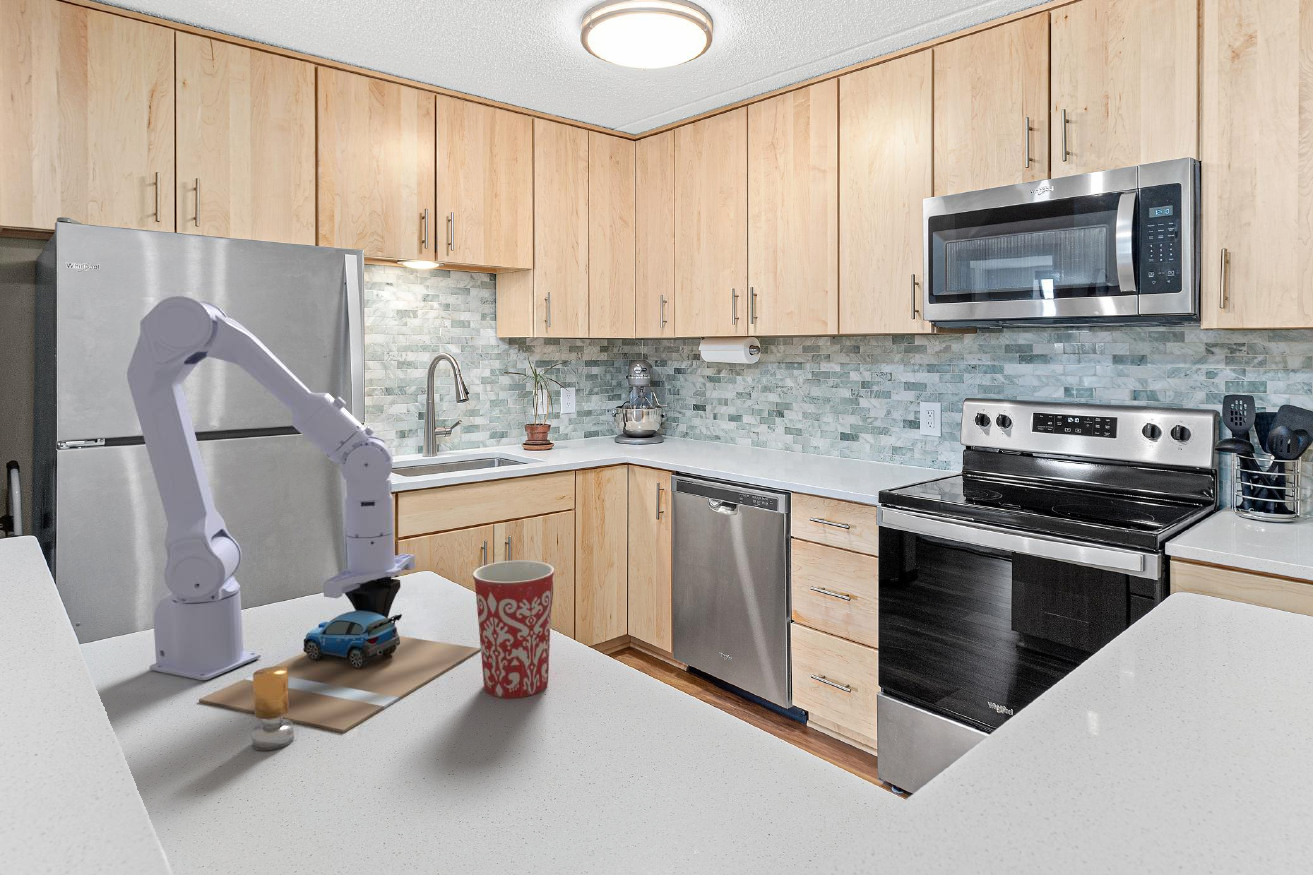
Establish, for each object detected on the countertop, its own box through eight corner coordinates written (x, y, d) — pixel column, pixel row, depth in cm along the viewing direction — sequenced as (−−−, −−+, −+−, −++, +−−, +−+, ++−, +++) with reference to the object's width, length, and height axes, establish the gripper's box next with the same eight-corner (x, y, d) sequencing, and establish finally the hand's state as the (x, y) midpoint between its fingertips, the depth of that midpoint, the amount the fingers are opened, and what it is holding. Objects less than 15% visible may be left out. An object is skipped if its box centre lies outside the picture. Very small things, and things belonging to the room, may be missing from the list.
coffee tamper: (243, 747, 76) (240, 676, 75) (273, 731, 79) (270, 663, 78) (273, 753, 74) (270, 681, 74) (302, 736, 78) (299, 667, 77)
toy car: (332, 643, 103) (330, 600, 102) (406, 655, 98) (405, 611, 98) (296, 658, 97) (294, 614, 97) (373, 672, 93) (371, 626, 92)
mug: (530, 708, 84) (528, 584, 83) (459, 695, 88) (456, 576, 86) (584, 665, 96) (583, 557, 95) (519, 655, 99) (518, 550, 98)
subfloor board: (199, 701, 86) (198, 699, 86) (356, 631, 108) (356, 629, 108) (343, 732, 79) (343, 729, 79) (480, 650, 101) (480, 648, 101)
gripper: (354, 548, 92) (359, 661, 93) (432, 524, 105) (435, 623, 107) (307, 543, 94) (312, 653, 96) (389, 520, 108) (392, 617, 109)
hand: (374, 637), depth 101 cm, fingers closed
